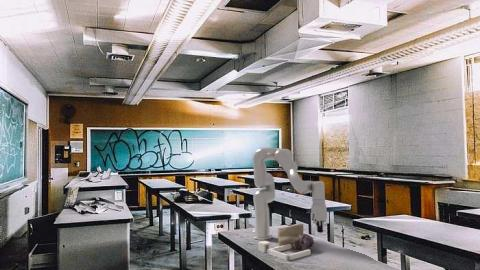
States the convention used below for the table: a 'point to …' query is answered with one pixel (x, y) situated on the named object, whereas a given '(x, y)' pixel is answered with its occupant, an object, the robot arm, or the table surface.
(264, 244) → the letter cube
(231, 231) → the table surface
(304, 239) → the rock
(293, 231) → the shelf
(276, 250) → the corral
